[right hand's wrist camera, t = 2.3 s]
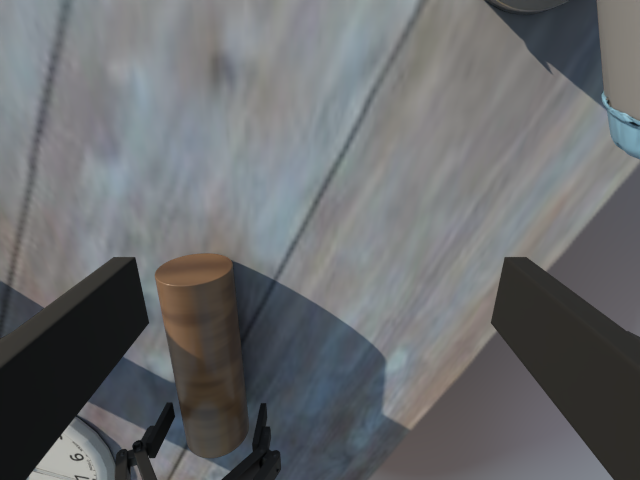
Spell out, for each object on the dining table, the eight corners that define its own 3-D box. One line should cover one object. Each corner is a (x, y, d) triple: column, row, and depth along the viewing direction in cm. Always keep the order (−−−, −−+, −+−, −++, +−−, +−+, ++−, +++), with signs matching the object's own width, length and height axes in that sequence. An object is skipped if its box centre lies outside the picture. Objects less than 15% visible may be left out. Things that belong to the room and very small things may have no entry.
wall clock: (138, 514, 63) (-12, 535, 65) (142, 504, 65) (-5, 525, 67) (61, 388, 52) (-116, 418, 55) (68, 380, 54) (-104, 410, 56)
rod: (172, 253, 46) (140, 285, 38) (239, 253, 46) (222, 285, 38) (198, 405, 56) (177, 458, 48) (253, 405, 56) (242, 458, 48)
